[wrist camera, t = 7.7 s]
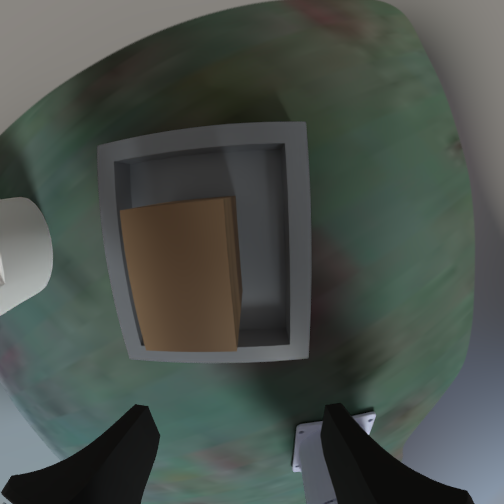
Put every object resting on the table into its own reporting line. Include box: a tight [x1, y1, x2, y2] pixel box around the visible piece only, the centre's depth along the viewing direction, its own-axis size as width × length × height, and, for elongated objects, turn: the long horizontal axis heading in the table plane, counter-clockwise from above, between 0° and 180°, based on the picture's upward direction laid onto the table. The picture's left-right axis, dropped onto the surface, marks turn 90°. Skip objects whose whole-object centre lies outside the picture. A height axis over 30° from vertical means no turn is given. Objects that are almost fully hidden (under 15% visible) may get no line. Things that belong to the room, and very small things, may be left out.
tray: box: [97, 122, 311, 363], centre depth 16 cm, size 14×12×3 cm
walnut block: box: [120, 196, 243, 352], centre depth 13 cm, size 4×6×7 cm, turn 4°
